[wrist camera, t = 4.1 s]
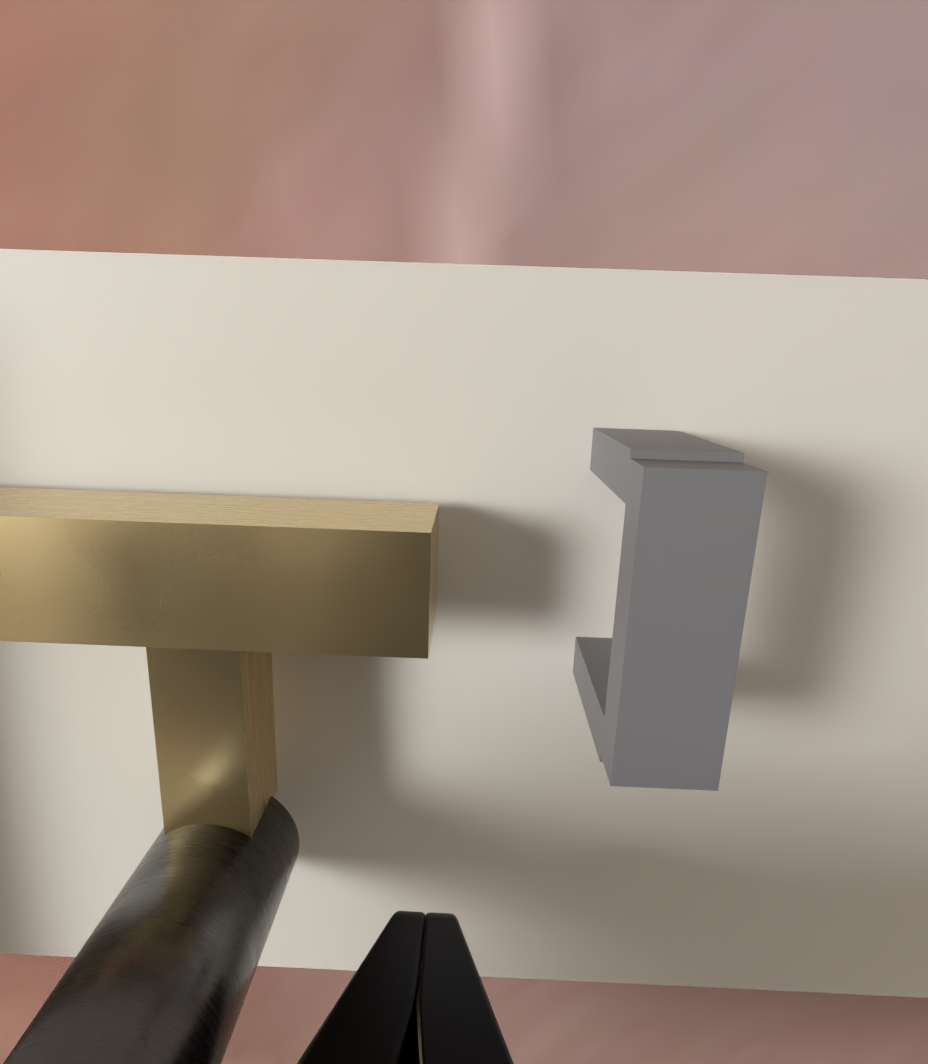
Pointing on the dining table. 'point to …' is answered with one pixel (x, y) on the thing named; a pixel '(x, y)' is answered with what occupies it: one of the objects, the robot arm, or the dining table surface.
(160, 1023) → the bolt
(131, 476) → the door board
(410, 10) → the dining table surface
